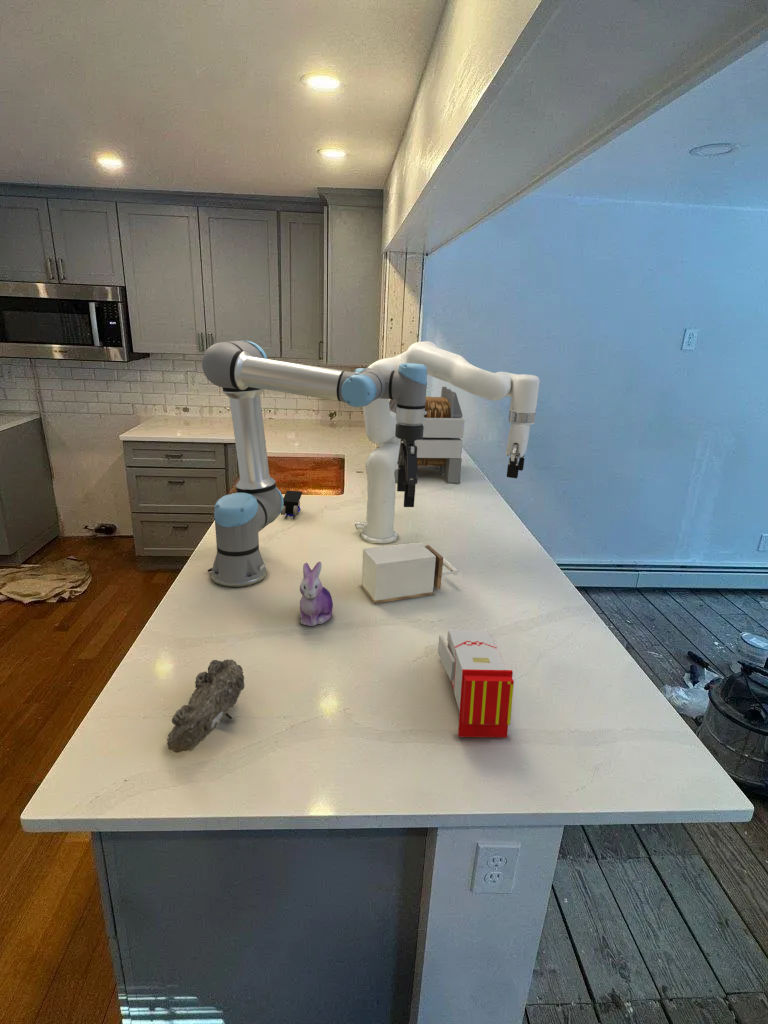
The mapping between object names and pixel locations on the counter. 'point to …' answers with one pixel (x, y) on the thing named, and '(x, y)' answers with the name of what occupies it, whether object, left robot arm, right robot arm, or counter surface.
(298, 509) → the figurine character
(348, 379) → the left robot arm
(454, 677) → the toy
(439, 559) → the drawer
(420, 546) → the cabinet
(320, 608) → the figurine
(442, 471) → the transformer
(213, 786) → the counter surface
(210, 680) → the fossil
